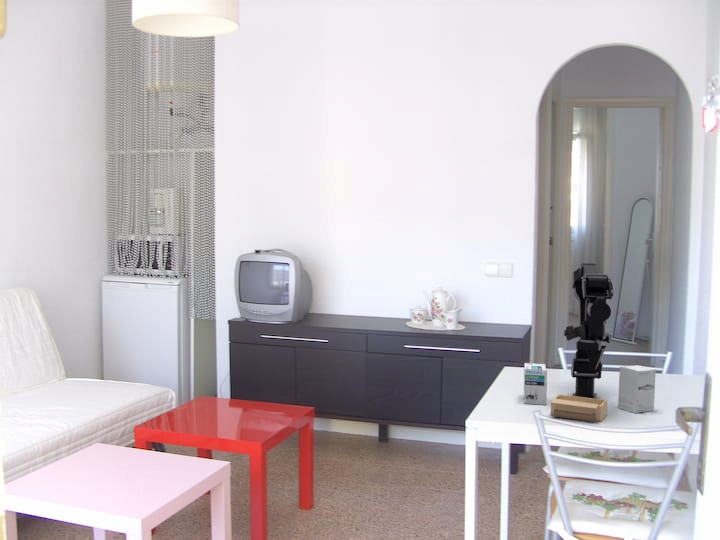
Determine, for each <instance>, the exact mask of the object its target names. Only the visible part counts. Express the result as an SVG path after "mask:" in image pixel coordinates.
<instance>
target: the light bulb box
mask: <svg viewBox="0 0 720 540" xmlns="http://www.w3.org/2000/svg"><path fill="white" fill-rule="evenodd" d="M523 368H524V369H523V373H524V374H523V400H524V401H523V402H524V404H527V405H542V406H546V405H547V390H548V389H547V385H548V384H547V383H548V380H547V379H548V370H547V365H546V363H533V362H524V367H523Z"/></svg>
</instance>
